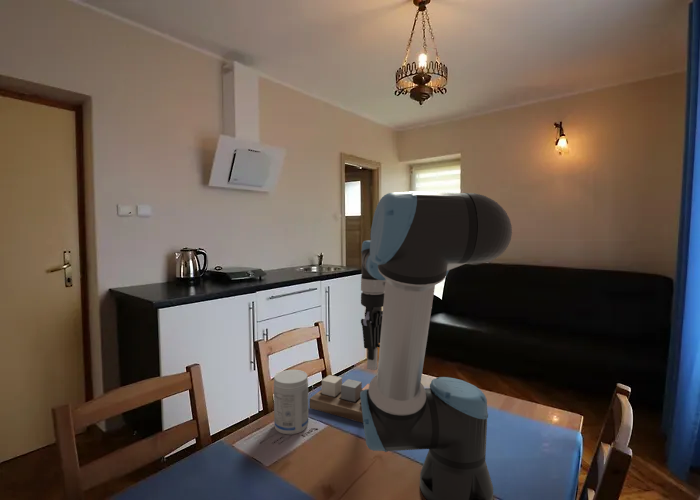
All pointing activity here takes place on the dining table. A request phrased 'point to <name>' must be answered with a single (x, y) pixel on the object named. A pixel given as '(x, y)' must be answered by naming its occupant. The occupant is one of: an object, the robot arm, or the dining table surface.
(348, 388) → the gray cube
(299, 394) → the supplement tub
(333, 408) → the wooden board
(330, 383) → the beige cube
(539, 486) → the dining table surface
